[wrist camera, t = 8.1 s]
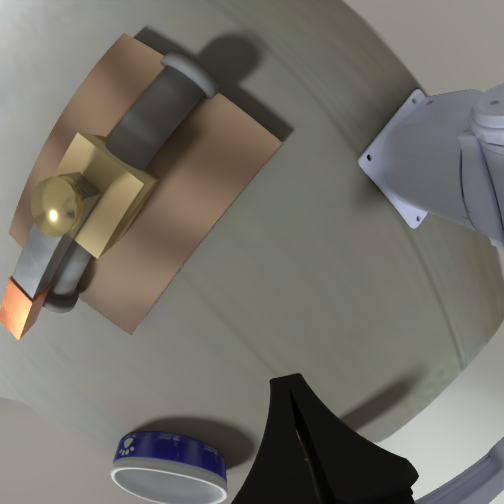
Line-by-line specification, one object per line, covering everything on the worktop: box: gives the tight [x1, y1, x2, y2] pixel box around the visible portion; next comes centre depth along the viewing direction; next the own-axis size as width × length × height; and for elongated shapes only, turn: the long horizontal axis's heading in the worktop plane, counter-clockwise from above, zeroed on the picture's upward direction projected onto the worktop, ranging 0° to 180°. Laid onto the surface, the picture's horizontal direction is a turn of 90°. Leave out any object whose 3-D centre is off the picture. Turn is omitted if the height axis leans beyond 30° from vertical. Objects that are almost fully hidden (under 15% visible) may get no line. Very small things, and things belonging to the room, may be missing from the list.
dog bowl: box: [111, 431, 228, 504], centre depth 26 cm, size 15×15×6 cm
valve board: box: [9, 33, 282, 335], centre depth 15 cm, size 18×14×6 cm
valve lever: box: [0, 172, 102, 340], centre depth 11 cm, size 11×3×3 cm, turn 136°
